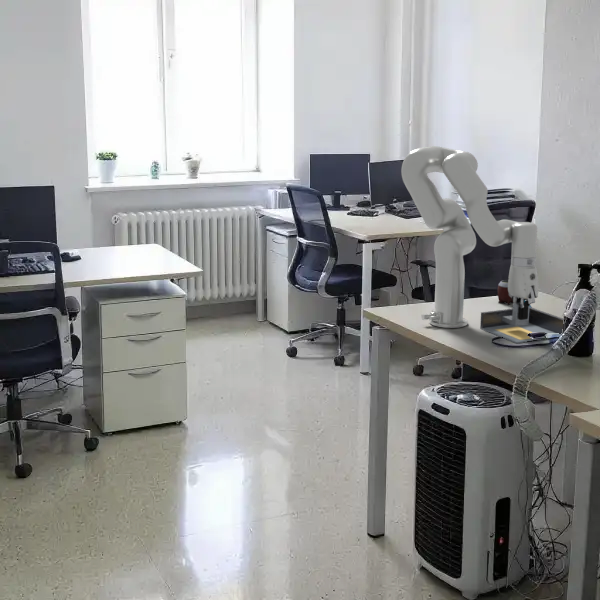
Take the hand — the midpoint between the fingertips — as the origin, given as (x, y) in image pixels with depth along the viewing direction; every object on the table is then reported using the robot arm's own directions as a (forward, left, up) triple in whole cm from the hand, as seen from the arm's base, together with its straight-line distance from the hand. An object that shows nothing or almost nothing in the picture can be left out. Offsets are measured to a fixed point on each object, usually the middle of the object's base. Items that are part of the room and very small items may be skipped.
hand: (520, 318), depth 289 cm
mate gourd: (+23, +37, -6) cm, 44 cm away
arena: (+2, +1, -6) cm, 6 cm away
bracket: (0, +3, -2) cm, 3 cm away
